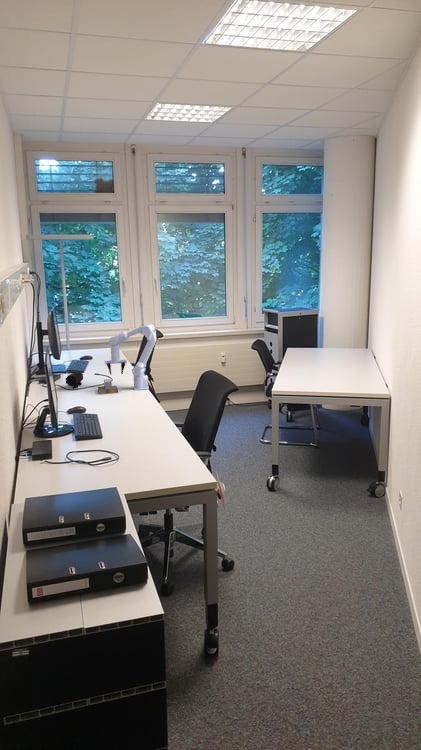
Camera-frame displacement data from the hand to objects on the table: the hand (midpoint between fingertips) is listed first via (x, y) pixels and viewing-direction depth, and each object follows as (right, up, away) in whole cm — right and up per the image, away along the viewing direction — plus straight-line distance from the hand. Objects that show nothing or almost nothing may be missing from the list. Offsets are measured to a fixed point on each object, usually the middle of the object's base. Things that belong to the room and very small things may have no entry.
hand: (116, 374), depth 367 cm
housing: (-4, -9, -10) cm, 14 cm away
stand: (-4, -12, -9) cm, 15 cm away
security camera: (-28, -9, +3) cm, 30 cm away
